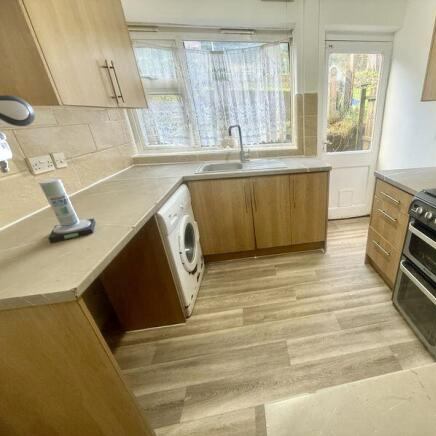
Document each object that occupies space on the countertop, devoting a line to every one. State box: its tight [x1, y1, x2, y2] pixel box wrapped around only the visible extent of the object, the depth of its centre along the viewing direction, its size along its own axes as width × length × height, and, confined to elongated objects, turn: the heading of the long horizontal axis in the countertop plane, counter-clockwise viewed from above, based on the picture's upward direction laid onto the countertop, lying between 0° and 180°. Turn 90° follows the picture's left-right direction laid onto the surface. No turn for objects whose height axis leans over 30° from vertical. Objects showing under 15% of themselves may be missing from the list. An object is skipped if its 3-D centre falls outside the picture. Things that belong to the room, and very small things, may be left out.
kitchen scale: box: [47, 218, 96, 244], centre depth 106 cm, size 14×14×3 cm
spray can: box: [38, 178, 80, 228], centre depth 102 cm, size 6×6×20 cm
